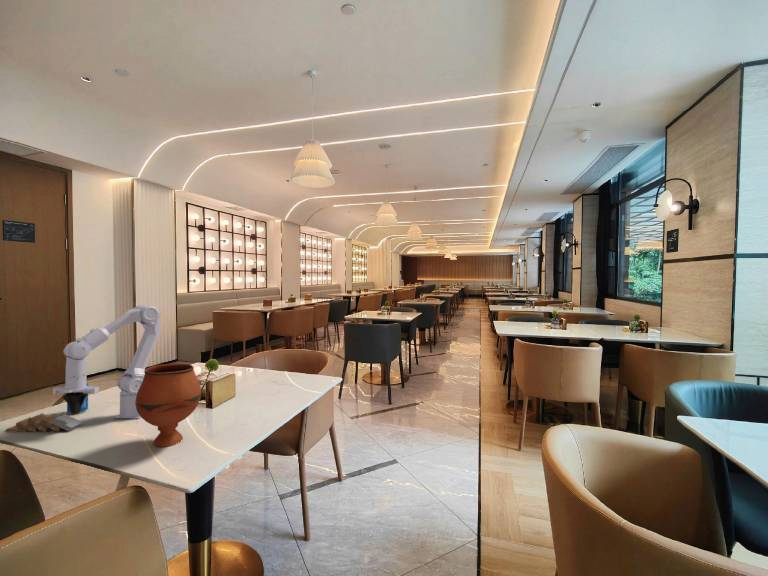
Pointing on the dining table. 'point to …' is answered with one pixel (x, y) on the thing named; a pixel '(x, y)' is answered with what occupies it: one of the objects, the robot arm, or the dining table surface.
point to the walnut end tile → (16, 429)
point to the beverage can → (84, 405)
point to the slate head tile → (67, 422)
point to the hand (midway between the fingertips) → (75, 413)
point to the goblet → (168, 399)
